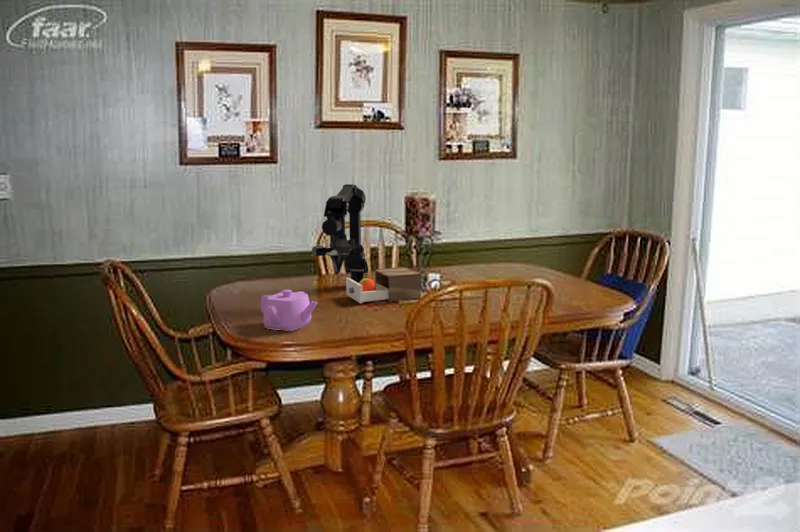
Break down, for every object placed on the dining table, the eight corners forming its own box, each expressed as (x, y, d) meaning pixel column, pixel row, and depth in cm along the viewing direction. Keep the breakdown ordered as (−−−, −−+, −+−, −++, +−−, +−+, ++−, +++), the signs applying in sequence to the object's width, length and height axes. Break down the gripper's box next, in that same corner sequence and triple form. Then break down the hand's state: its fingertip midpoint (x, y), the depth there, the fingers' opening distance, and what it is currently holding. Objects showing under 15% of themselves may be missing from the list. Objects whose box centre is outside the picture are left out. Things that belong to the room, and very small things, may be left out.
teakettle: (304, 317, 254) (303, 282, 252) (319, 329, 239) (318, 293, 237) (256, 322, 248) (255, 287, 245) (269, 335, 232) (268, 298, 230)
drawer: (343, 295, 283) (343, 278, 281) (376, 291, 288) (376, 275, 287) (357, 303, 269) (356, 285, 268) (391, 300, 275) (391, 282, 274)
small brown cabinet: (375, 293, 288) (374, 269, 286) (404, 290, 293) (404, 266, 291) (389, 302, 275) (389, 276, 273) (420, 298, 280) (420, 273, 278)
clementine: (368, 299, 273) (368, 280, 272) (353, 297, 276) (352, 279, 275) (379, 294, 280) (379, 277, 279) (363, 292, 283) (363, 275, 282)
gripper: (320, 235, 258) (321, 278, 261) (368, 232, 265) (369, 274, 268) (311, 231, 268) (312, 272, 271) (358, 228, 275) (358, 268, 278)
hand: (338, 272), depth 272 cm, fingers closed
